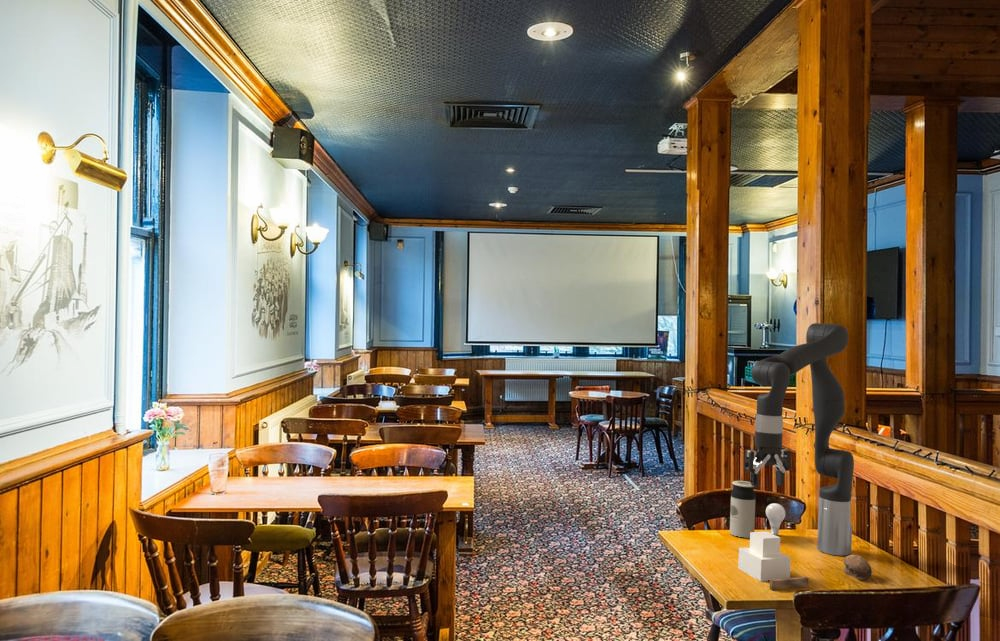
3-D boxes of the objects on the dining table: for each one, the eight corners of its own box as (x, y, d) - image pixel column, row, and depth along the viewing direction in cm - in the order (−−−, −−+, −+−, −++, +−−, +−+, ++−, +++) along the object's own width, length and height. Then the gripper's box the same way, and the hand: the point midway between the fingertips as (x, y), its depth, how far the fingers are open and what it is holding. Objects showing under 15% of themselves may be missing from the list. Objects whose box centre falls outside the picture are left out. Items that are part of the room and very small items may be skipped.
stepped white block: (766, 566, 198) (767, 528, 198) (789, 578, 189) (791, 539, 189) (738, 568, 195) (739, 530, 196) (760, 581, 186) (762, 541, 186)
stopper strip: (805, 585, 184) (805, 576, 184) (808, 587, 183) (808, 578, 183) (769, 588, 181) (769, 579, 181) (772, 590, 180) (772, 581, 180)
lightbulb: (786, 538, 226) (787, 506, 226) (766, 536, 227) (768, 505, 227) (782, 533, 232) (783, 502, 232) (763, 531, 234) (764, 500, 234)
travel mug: (748, 531, 232) (750, 480, 233) (757, 539, 224) (759, 486, 225) (726, 531, 232) (728, 480, 232) (734, 538, 224) (736, 485, 224)
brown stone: (833, 558, 198) (847, 546, 195) (856, 569, 198) (870, 556, 195) (842, 580, 191) (856, 567, 188) (865, 591, 191) (880, 578, 188)
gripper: (780, 427, 198) (778, 481, 198) (739, 428, 194) (737, 483, 194) (798, 432, 191) (796, 488, 190) (756, 432, 187) (754, 489, 186)
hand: (766, 485), depth 192 cm, fingers open, 8 cm apart
